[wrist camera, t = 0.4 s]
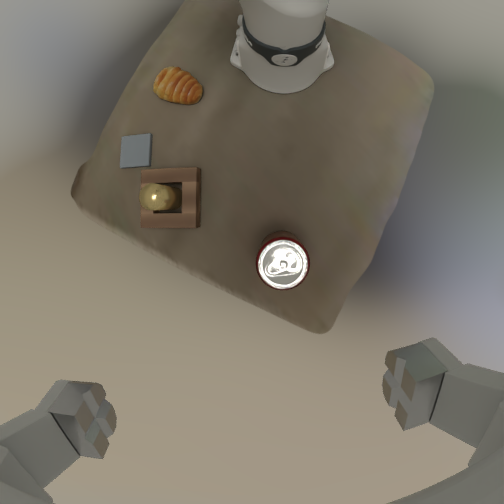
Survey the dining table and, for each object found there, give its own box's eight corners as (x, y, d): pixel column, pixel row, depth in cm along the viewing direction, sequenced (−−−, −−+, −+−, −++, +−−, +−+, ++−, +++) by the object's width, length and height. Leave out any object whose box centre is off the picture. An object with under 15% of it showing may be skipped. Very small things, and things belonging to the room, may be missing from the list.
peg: (162, 187, 52) (139, 183, 42) (184, 186, 51) (164, 182, 41) (162, 209, 52) (139, 210, 42) (183, 209, 52) (163, 210, 42)
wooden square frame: (148, 171, 51) (141, 169, 48) (200, 169, 51) (196, 167, 48) (147, 226, 53) (140, 227, 50) (200, 226, 52) (195, 227, 49)
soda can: (293, 224, 51) (299, 229, 39) (308, 264, 52) (317, 280, 40) (253, 239, 52) (247, 248, 40) (268, 278, 53) (266, 298, 41)
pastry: (212, 84, 48) (207, 76, 45) (192, 114, 50) (186, 108, 46) (172, 67, 48) (165, 59, 45) (153, 95, 49) (145, 89, 46)
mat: (124, 137, 51) (121, 136, 50) (152, 134, 50) (150, 133, 49) (122, 168, 52) (120, 167, 51) (150, 166, 51) (148, 165, 50)
